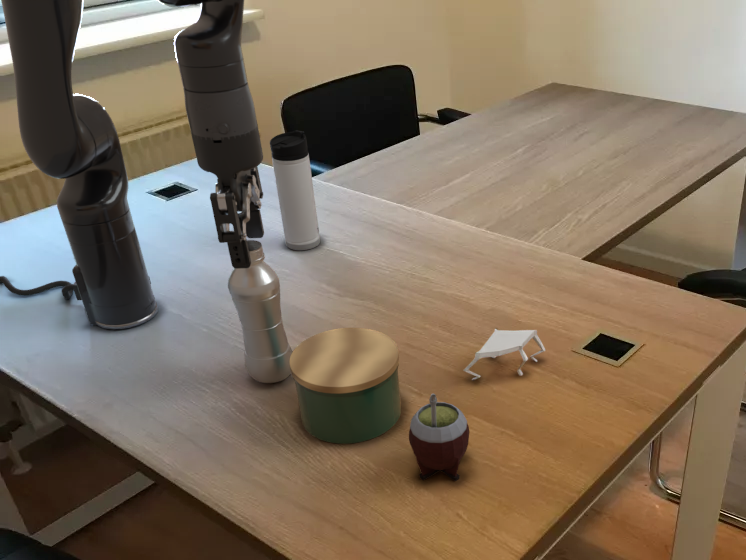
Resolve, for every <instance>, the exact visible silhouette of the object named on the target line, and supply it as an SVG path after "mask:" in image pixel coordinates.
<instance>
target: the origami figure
mask: <svg viewBox="0 0 746 560" xmlns="http://www.w3.org/2000/svg"><path fill="white" fill-rule="evenodd" d="M531 339H533V341H534V342H535V343H536V344H537V345H538V347H539V349H540V350H539V351H537V352H535V353H533V354H532V355H530V356H529V357H528V355H527V354H526V352H525V350H524V347H525V346H526V345H527V344H528V343H529V342H530V341H531ZM517 351H518V352H519V353H520V356H521V358H522V362H521V364H520V365H519V366H518V368H517V370H516V372H517V374H518V376H523V375H524V373H523V371H522V367H523V366H524V365H525V364H526V362H527V361H528V360H529V358H530V359H531V360H532V361H534V362H535V363H537V362H538V359H537V358H535V356H537V355H539V354H542V353H544V352H546V348H545V345H544V344H543V342H542V340H541V339H540V337H539V335H538V330H537V329H521V330H519V329H517V330H510V329H509V330H503V329H500V330H499V329H497V328H494V331H493V332H492V334H491V335H490V336H489V338H488V339H487V340H486V342H485V343H484V344H483V345H482V347H481V348H480V350H478V351H477V352H475V354H474V358H473V359H472V361H471V362H470V363H469V364H468V365H467V366H466V367H464V369H463V370H462V371H463V372H465V373H467V374H469V375H472V376H473V378H472V379H471V381H476V380H478V379H479V378H481V377H482V375H480V374H478V373H476V372H474V371H472V370H470V369H471V368H472V367H473V366H474V365H475V364H476V363H478V362H479V360H481V359H484V358H493V359H496V358H497V357H501V356H504V355H507V354H511V353H514V352H517Z"/></svg>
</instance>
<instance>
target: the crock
mask: <svg viewBox="0 0 746 560" xmlns="http://www.w3.org/2000/svg"><path fill="white" fill-rule="evenodd" d="M399 351H400V350H399V347H398V344H397V343H396V342H395V341H394V339H393V338H391V337H390V336H389V335H387V334H384V333H383V332H381V331H378V330H375V329H371V328H365V327H340V328H335V329H334V328H333V329H329V330H328V329H327V330H325V331H321V332H318V333H316V334H314V335H311V336H309V337H307V338H306V339H304V340H303V341H301V342H300V343H299V344H297V346H296V347H294V349H292V354H291V356H290V360H289V364H290V370H291V374H290V375H291V376H292V379H293V380H294V384H295V390H296V395H297V401H298V407H299V413H300V418H301V423H302V426H303V428H304V429H305V430H306V432H307V433H308V434H310V435H311V436H312V437H314V438H316V439H318V440H320V441H324V442H327V443H331V444H332V443H333V444H342V445H343V444H344V445H345V444H347V445H348V444H357V443H362V442H366V441H369V440H372V439H376V438H377V437H380V436H381V435H384V434H385V433H387V432H388V431H389V430H391V429H392V428H393V427H394V426H395V425H396V424H397V422H398V420H399V419H400V416H401V414H402V400H401V391H400V389H401V388H400V380H399V379H400V378H399V377H400V376H399V365H400V352H399Z"/></svg>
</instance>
